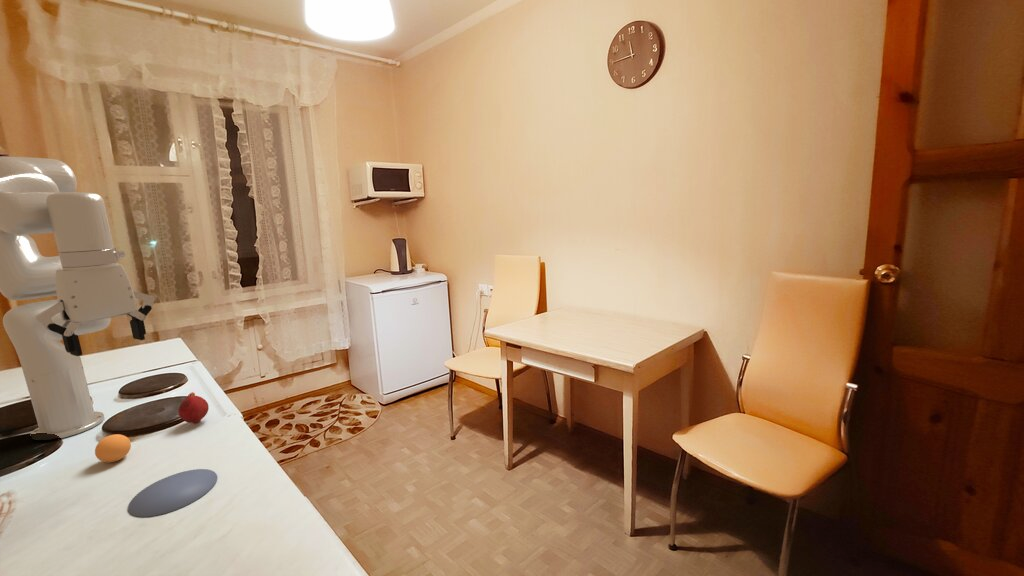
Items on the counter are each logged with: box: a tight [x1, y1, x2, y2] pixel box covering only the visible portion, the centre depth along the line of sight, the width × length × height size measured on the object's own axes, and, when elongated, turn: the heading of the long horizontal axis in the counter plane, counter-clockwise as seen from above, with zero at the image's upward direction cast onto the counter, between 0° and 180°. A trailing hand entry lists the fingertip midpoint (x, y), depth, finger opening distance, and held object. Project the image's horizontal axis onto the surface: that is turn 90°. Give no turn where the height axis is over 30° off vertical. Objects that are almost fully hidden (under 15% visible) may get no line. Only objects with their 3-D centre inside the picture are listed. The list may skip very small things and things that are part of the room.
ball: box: [94, 433, 132, 463], centre depth 89 cm, size 6×6×6 cm
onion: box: [177, 391, 210, 425], centre depth 104 cm, size 6×6×8 cm
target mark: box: [128, 468, 218, 518], centre depth 79 cm, size 13×13×1 cm
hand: (109, 346), depth 83 cm, fingers open, 9 cm apart
